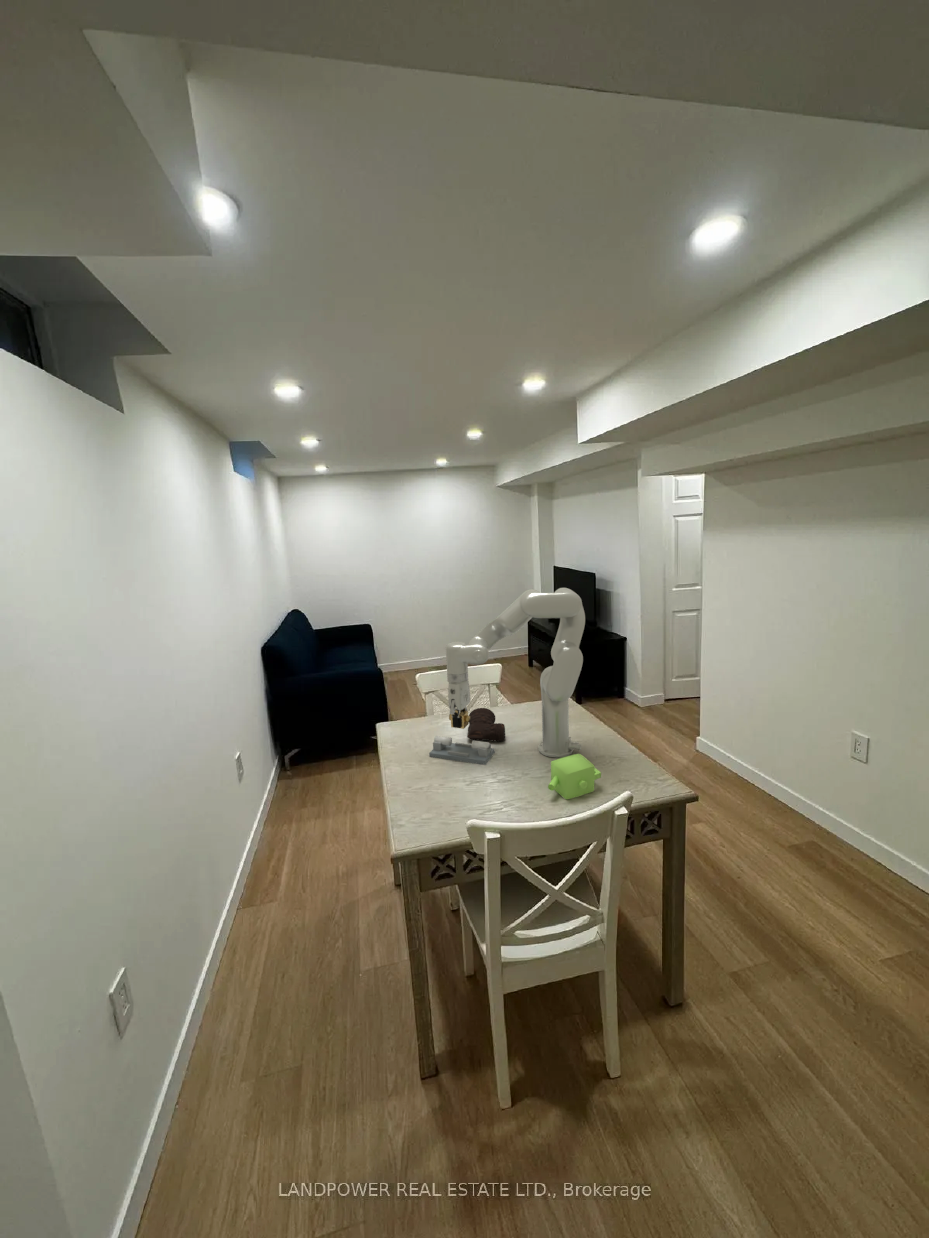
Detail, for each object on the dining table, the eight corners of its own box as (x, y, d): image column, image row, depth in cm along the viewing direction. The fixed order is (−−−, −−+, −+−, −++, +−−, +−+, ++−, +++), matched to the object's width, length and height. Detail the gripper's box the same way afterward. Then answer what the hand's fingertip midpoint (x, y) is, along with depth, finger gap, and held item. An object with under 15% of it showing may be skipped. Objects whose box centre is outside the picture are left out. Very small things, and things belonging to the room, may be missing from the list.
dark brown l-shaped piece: (503, 726, 185) (503, 705, 199) (464, 729, 187) (467, 708, 201) (506, 748, 189) (506, 726, 203) (467, 750, 191) (470, 728, 205)
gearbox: (556, 808, 145) (555, 779, 143) (538, 791, 154) (538, 764, 152) (605, 792, 152) (606, 764, 149) (586, 776, 161) (586, 750, 158)
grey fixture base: (494, 752, 181) (494, 737, 180) (485, 764, 172) (484, 749, 171) (440, 745, 190) (440, 730, 189) (429, 756, 181) (428, 741, 180)
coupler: (471, 724, 180) (471, 711, 179) (467, 729, 175) (466, 716, 174) (453, 722, 182) (452, 709, 181) (448, 726, 178) (447, 713, 177)
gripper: (458, 684, 166) (460, 735, 170) (475, 670, 182) (477, 716, 185) (438, 683, 169) (440, 732, 173) (457, 669, 184) (459, 714, 188)
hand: (460, 724), depth 179 cm, fingers closed on coupler, 4 cm apart
